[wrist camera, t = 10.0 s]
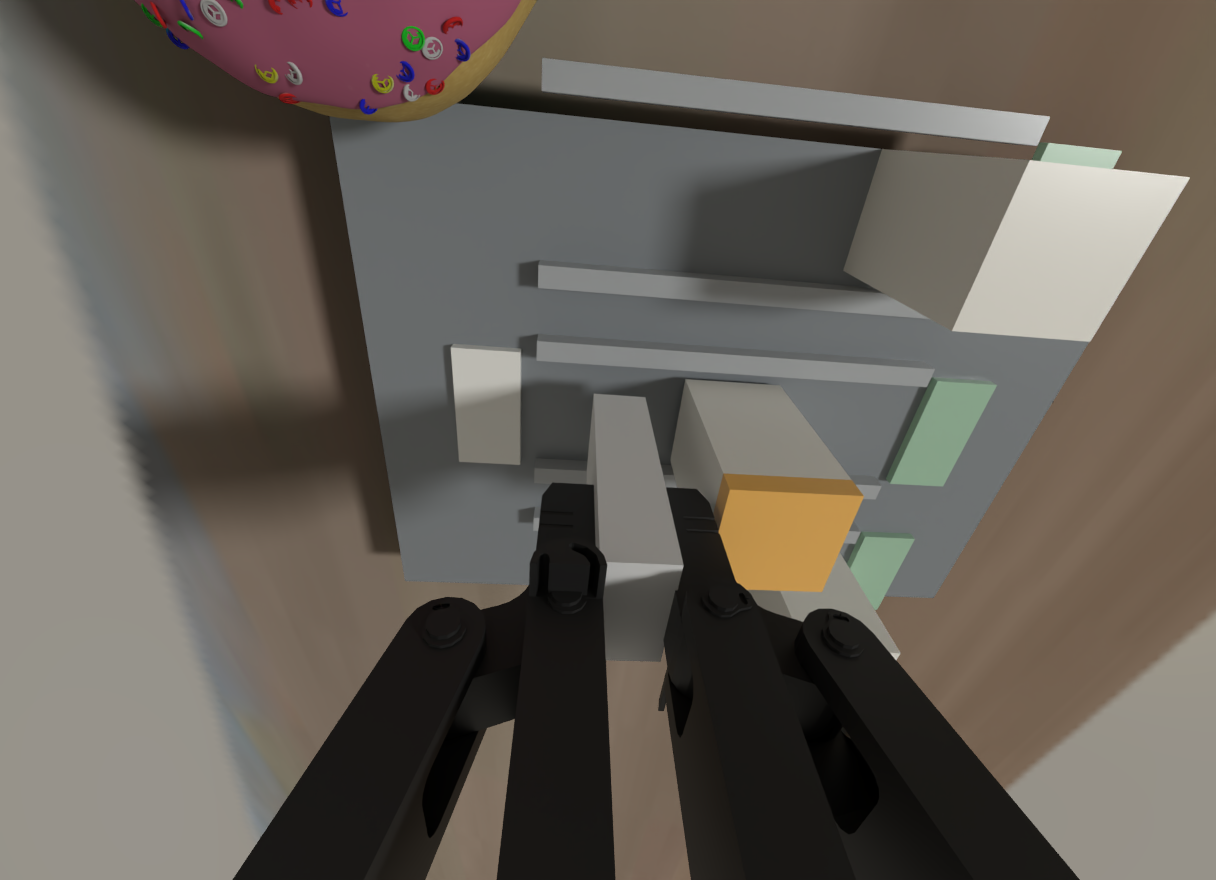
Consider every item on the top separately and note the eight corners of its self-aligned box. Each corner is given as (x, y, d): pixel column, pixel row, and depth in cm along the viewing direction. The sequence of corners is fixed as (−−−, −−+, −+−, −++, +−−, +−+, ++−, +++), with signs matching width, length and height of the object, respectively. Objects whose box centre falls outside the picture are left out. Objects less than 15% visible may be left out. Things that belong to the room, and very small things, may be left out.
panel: (351, 47, 13) (153, -22, 7) (1140, 136, 15) (1517, 143, 9) (421, 562, 22) (362, 721, 16) (899, 579, 24) (1004, 728, 18)
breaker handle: (685, 379, 16) (729, 489, 11) (780, 385, 16) (864, 496, 11) (670, 460, 17) (703, 588, 12) (756, 464, 17) (822, 592, 13)
